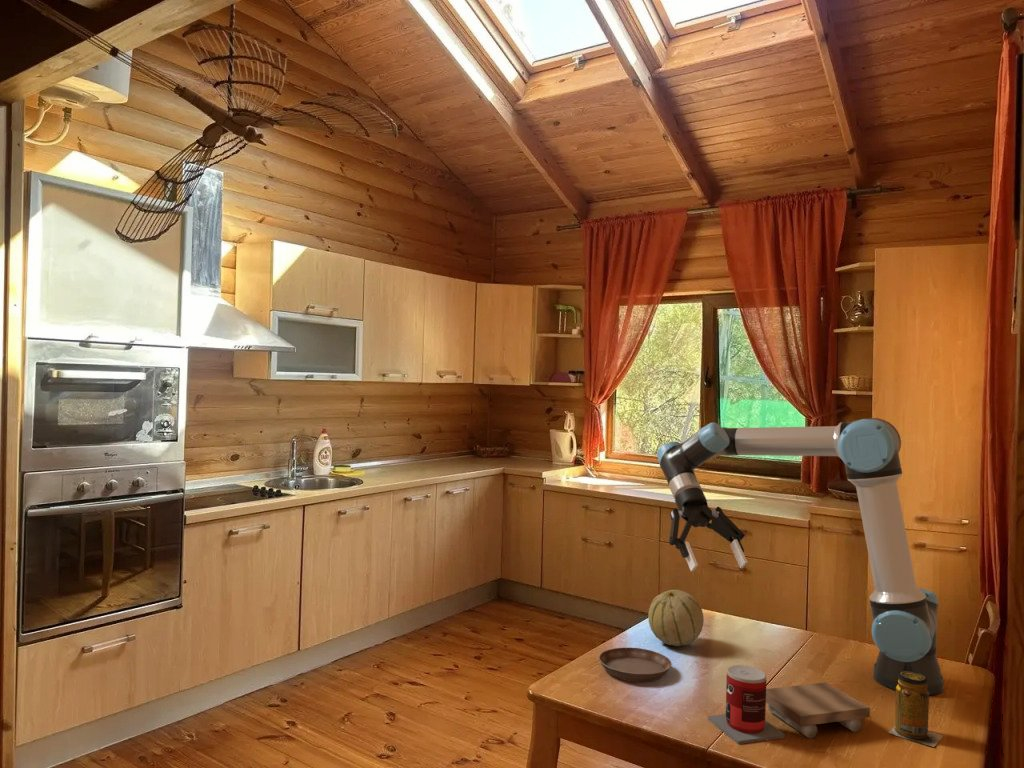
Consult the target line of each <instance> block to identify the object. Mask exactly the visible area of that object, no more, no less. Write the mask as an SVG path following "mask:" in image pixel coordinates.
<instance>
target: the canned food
mask: <svg viewBox="0 0 1024 768" xmlns="http://www.w3.org/2000/svg"><path fill="white" fill-rule="evenodd" d="M726 670H727V671H726V685H725V687H726V689H725V691H726V693H725V694H726V695H725V714H726V721H727V724H728V725H729V726H730V727H731V728H733V729H735V730H737V731H740V732H744V733H759V732H761V731H763V729H764V727H765V720H766V715H767V714H766V708H767V707H766V706H767V705H766V704H767V703H766V689H767V675H766V673H765V672H764V671H763V670H761V669H760V668H757V667H753V666H748V665H740V664H739V665H731V666H729V667H727V668H726Z"/></svg>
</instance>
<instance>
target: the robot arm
mask: <svg viewBox="0 0 1024 768" xmlns="http://www.w3.org/2000/svg"><path fill="white" fill-rule="evenodd" d="M901 446H902V440H901V435H900V433H899V431H898V429H897V428H896V427H895V426H894V425H893V424H892V423H890V422H889V421H887V420H885V419H882V418H876V417H872V418H871V417H869V418H862V419H857V420H854V421H841V422H839V423H838V425H833V426H832V425H831V426H830V425H829V426H826V425H825V426H824V425H823V426H777V427H776V426H772V427H769V426H767V427H764V426H763V427H723V426H721V425H720V424H718V423H717V422H710V423H708V424H706V425H705V426H703V427H701V428H700V429H699V430H698V431H696V432H695V433H694V434H692V435H691V436H690V437H688V438H687V439H686V440H684V441H683V442H682V443H680V442H679V441H676V440H675V441H669V442H667V443H663V444H662V445H661V446H660V447H659V448H658V450H657V452H656V457H657V459H658V463H659V468H660V469H661V470H662V473H663V475H664V478H665V480H666V482H667V484H668V487H669V489H670V492H671V495H672V497H673V499H674V502H675V505H676V507H674V508H672V511H671V512H670V514H669V517H670V521H671V522H670V523H671V524H670V531H669V532H670V533H669V538H668V543H669V545H670V546H675V548H676V549H677V550H679V553H680V554H681V557H682V558H685V561H686V563H687V565H688V568H689V570H690V572H695V570H696V569H697V567H698V566H699V564H698V562H697V560H696V557H695V554H694V551H693V550H692V547H691V544H690V543H689V541H686V539H687V537H688V535H689V532H690V531H691V527H694V528H699V527H701V528H708V529H710V530H713V531H714V532H715V533H717V534H718V535H720V537H722V538H723V539H725V540H727V541H728V542H729V543H730V544H729V547H730V550H731V551H732V554H733V556H734V558H735V560H736V562H737V565H738V567H739V569H743V568H745V566H746V565H747V564H748V560H747V558H746V556H745V554H744V552H745V548H744V547H743V545H742V540H744V538H745V536H746V535H745V533H744V532H743V531H742V530H741V529H740V527H738V526H737V525H736V524H735V523H734V521H732V520H731V519H730V518H729V517H728V516H727V515H726V514H725V513H724V511H723V510H722V508H721V507H720V506H716V508H714V509H711V508H710V507H709V505H708V500H707V498H706V496H705V493H704V491H703V490H702V486H701V484H700V482H699V480H698V478H697V476H696V474H695V470H696V469H697V468H699V467H700V466H701V465H704V463H706V462H707V461H710V460H711V459H713V458H717V457H720V456H771V457H772V456H777V457H778V456H785V457H786V456H787V457H788V456H789V457H790V456H792V457H796V456H797V457H798V456H802V457H838V458H839V459H841V460H842V462H843V463H844V467H845V473H846V479H847V481H849V482H850V483H851V484H852V485H853V486H854V487H855V489H856V495H857V499H858V505H859V509H860V510H859V511H860V516H861V520H862V521H861V522H862V526H863V527H862V528H863V533H864V537H865V543H866V548H867V555H868V559H869V564H870V571H871V576H872V580H873V581H872V582H873V586H874V587H873V588H874V590H873V592H872V593H871V594H870V595H869V599H868V600H869V604H870V609H871V615H872V624H871V629H870V630H871V631H870V632H871V635H872V640H873V643H874V644H875V646H876V647H877V649H878V650H879V652H878V654H877V658H876V661H875V663H874V664H873V669H872V677H873V679H874V680H875V681H876V682H877V683H879V684H880V685H882V686H884V687H887V688H889V689H891V690H894V691H896V686H897V685H898V684H899V683H898V680H899V673H901V672H914V673H918V674H921V675H923V676H924V677H926V678H927V687H928V688H927V691H928V692H929V696H934V695H935V696H936V695H939V694H941V693H942V692H944V689H945V681H944V680H945V679H944V677H943V675H942V672H941V668H940V664H939V660H938V657H937V645H938V644H937V641H938V640H937V639H938V637H937V636H938V613H939V612H938V609H939V608H938V607H940V606H939V605H940V604H939V601H938V599H939V598H938V595H937V593H935V591H933V590H929V589H926V588H921V587H917V584H916V578H915V573H914V567H913V562H912V557H911V551H910V546H909V542H908V541H909V540H908V535H907V531H906V525H905V520H904V515H903V510H902V505H901V504H902V503H901V497H900V493H899V489H898V488H899V487H898V481H899V479H900V478H901V477H902V476H903V470H902V464H901V459H900V454H899V453H900V451H901ZM680 518H682V519H683V520H684V521H685V524H684V526H683V529H682V531H681V534H679V529H680V527H679V526H680ZM710 522H711V523H710Z"/></svg>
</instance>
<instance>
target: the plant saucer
mask: <svg viewBox="0 0 1024 768" xmlns="http://www.w3.org/2000/svg"><path fill="white" fill-rule="evenodd" d="M598 660H599V662H600V664H601V666H602V668H604V670H605V671H606V672H607V673H608V674H609V675H611V677H612V676H613V677H614V678H617V679H620V680H623V681H628V682H634V683H637V682H638V683H647V682H654V681H658V680H660V679H662V678H663V677H664V676H666V674H667V673H668V672H669V671H670V669H671V668H672V665H673V664H672V661H671V660H670V658H669V657H667V656H666V655H663V654H661V653H660V652H658V651H654V650H651V649H646V648H640V647H616V648H614V647H613V648H609V649H607V650H604V651H603V652H600V654H599V655H598Z"/></svg>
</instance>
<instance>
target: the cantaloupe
mask: <svg viewBox="0 0 1024 768" xmlns="http://www.w3.org/2000/svg"><path fill="white" fill-rule="evenodd" d="M647 619H648V624H649V627H650V630H651V631H652V634H653V635H654V636H655V638H656V639H657V640H659V642H660V641H661V642H662V643H664V644H665V645H668V646H673V647H681V646H687V645H689V644H691V643H693V642H694V641H696V640H697V639H698V638H699V636H700V635H701V633H702V631H703V627H704V613H703V610H702V606H701V605H700V603H699V602H698V600H697V599H696V598H695V597H694V596H693V595H692V594H690V593H688V592H686V591H683V590H680V589H671V590H670V589H669V590H667V591H666V590H665V591H663V592H661V593H660V594H658V595H657V596H655V597H654V598H653V600H652V601H651V603H650V606H649V609H648V617H647Z"/></svg>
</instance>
